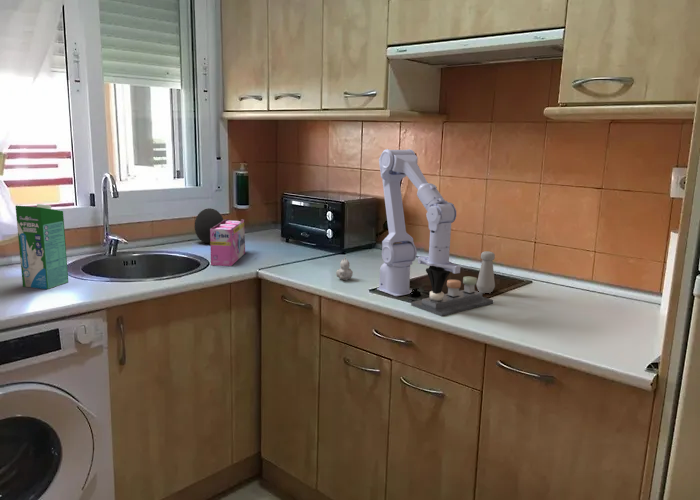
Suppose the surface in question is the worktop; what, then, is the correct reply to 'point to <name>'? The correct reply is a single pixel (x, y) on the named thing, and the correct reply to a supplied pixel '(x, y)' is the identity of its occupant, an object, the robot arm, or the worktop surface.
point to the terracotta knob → (453, 287)
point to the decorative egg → (206, 223)
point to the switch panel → (453, 303)
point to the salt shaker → (486, 273)
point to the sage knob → (469, 284)
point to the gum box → (227, 242)
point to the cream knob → (436, 296)
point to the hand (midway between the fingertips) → (436, 292)
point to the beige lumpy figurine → (344, 270)
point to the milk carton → (42, 246)
